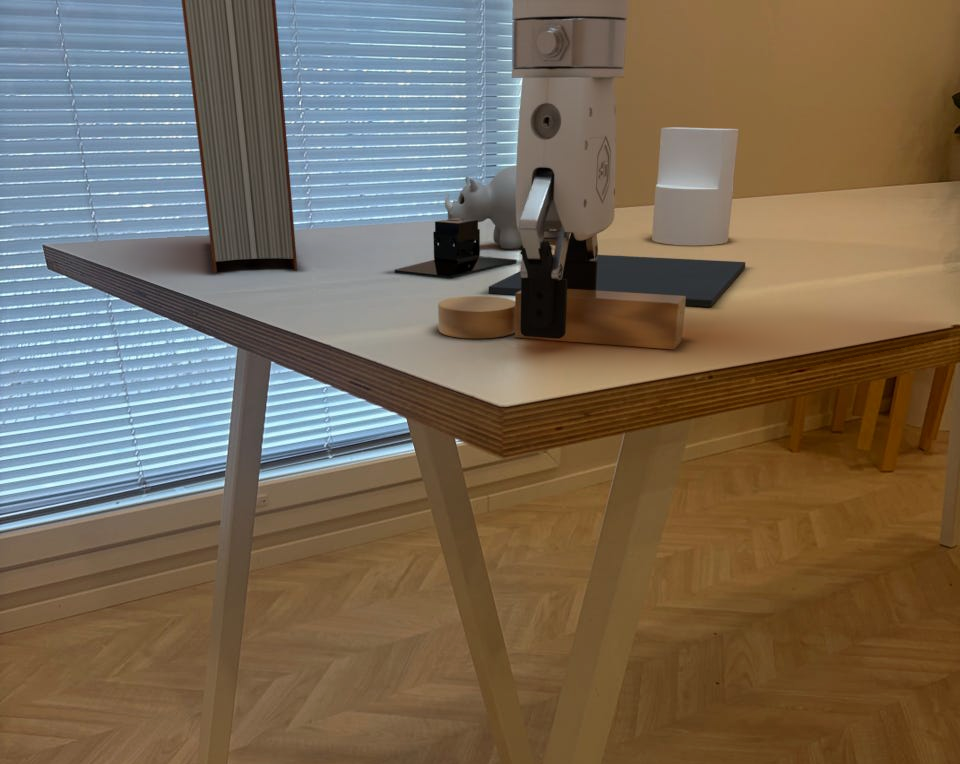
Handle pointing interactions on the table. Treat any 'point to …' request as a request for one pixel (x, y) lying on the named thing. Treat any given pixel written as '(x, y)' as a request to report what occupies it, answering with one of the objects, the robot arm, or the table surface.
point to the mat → (654, 277)
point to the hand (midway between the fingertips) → (559, 323)
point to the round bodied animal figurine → (491, 206)
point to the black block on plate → (455, 252)
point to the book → (241, 127)
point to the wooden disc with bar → (574, 318)
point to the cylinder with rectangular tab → (694, 186)
